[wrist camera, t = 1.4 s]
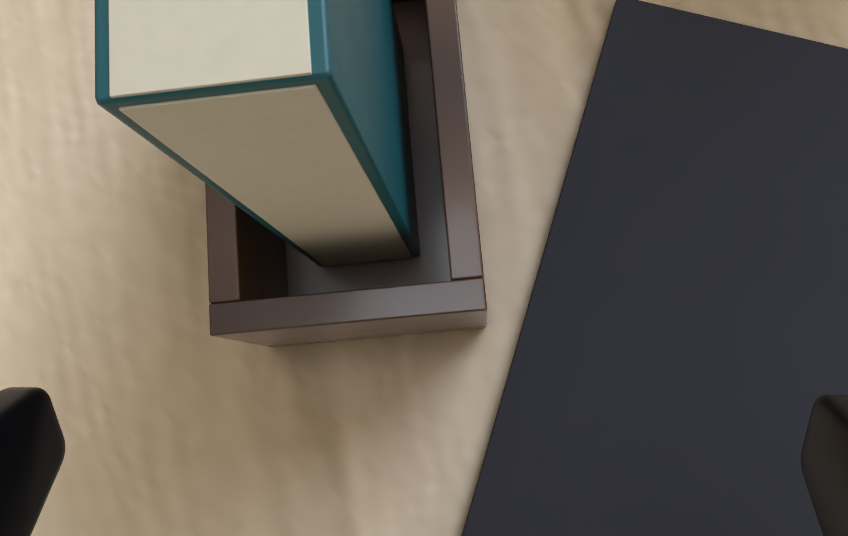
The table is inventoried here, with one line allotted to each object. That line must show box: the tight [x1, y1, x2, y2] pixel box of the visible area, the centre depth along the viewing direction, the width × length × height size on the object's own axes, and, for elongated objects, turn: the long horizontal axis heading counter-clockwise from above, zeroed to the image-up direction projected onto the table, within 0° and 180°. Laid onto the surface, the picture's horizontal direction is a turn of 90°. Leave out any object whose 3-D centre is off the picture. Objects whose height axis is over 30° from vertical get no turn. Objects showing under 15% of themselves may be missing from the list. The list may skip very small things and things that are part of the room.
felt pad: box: [462, 0, 848, 536], centre depth 21 cm, size 20×12×1 cm, turn 163°
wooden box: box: [205, 0, 487, 347], centre depth 21 cm, size 12×7×5 cm, turn 5°
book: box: [95, 0, 420, 266], centre depth 16 cm, size 7×3×13 cm, turn 5°
